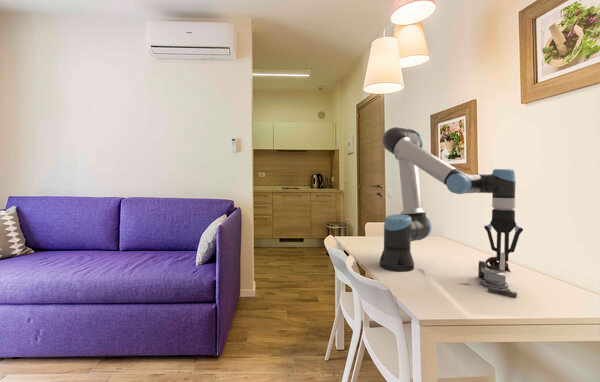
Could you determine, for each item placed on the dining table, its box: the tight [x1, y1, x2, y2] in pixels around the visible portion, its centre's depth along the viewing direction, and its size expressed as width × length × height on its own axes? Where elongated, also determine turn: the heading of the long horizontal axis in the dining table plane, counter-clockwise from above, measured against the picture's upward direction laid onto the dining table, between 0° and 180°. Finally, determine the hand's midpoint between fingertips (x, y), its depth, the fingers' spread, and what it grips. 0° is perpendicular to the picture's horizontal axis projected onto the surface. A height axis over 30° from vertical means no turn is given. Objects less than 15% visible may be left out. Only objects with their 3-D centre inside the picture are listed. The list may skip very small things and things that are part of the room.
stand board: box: [457, 282, 518, 299], centre depth 119 cm, size 20×19×4 cm
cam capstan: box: [477, 260, 509, 290], centre depth 122 cm, size 14×9×6 cm, turn 176°
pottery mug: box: [484, 256, 512, 273], centre depth 139 cm, size 12×9×8 cm
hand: (502, 269), depth 125 cm, fingers closed
